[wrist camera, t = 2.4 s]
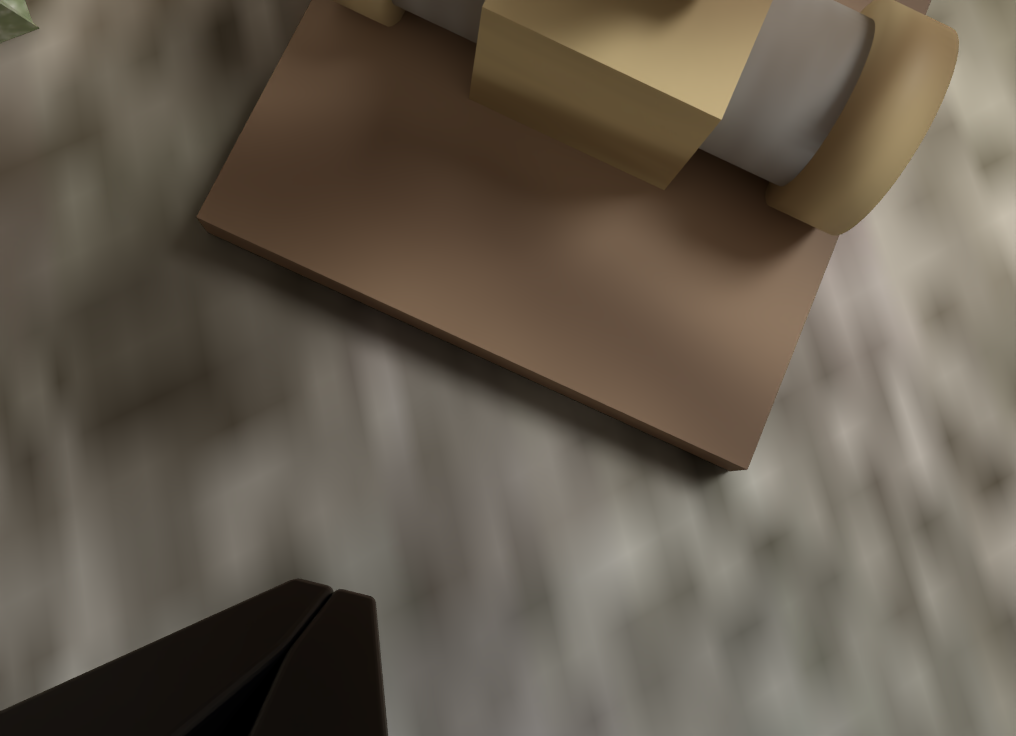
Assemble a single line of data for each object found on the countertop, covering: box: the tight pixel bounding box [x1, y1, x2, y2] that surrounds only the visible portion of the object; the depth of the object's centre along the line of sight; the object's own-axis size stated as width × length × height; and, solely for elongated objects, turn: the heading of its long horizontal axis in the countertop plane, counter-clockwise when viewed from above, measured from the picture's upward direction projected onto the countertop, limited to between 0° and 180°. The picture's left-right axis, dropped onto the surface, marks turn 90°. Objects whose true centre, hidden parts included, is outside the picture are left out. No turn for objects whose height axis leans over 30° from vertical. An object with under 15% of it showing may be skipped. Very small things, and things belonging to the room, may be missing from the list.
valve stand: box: [196, 0, 959, 471], centre depth 21 cm, size 16×14×6 cm
